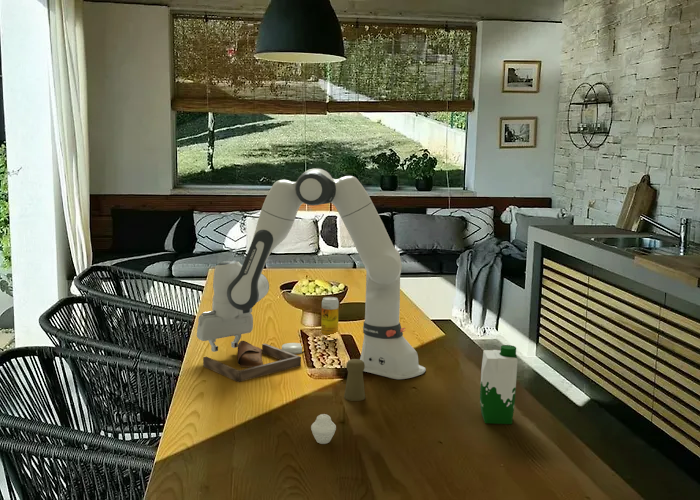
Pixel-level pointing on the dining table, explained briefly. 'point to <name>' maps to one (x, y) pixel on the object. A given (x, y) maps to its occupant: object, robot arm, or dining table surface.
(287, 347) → the ring dish
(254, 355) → the sunglasses case
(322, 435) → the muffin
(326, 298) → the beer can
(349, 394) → the pepper mill
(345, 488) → the dining table surface
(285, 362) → the open wooden frame
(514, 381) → the milk carton
